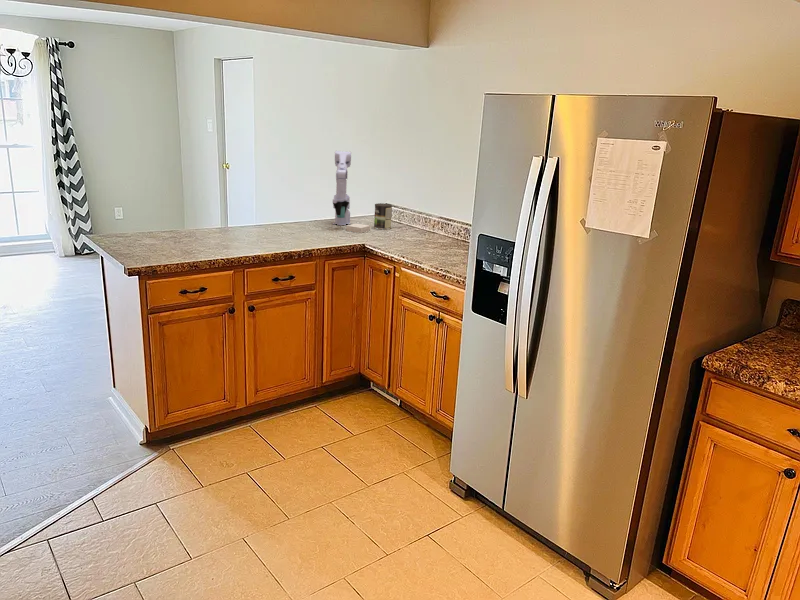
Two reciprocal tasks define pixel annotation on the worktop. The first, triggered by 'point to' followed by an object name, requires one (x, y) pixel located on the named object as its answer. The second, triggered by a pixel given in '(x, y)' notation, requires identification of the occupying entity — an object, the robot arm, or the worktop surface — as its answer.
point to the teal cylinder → (342, 212)
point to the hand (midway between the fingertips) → (340, 214)
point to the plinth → (357, 228)
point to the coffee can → (382, 216)
